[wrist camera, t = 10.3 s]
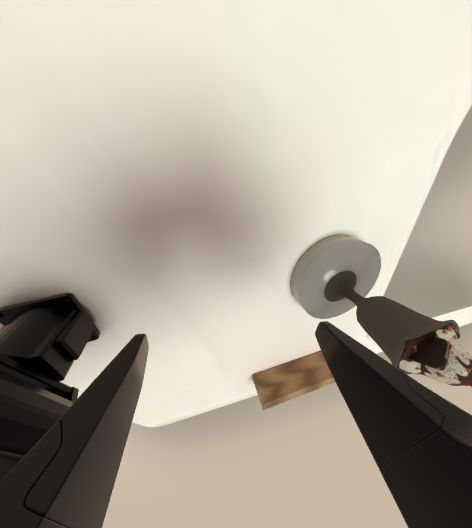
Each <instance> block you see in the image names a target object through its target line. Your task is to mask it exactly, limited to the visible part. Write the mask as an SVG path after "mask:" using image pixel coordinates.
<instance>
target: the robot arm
mask: <svg viewBox="0 0 472 528" xmlns="http://www.w3.org/2000/svg"><path fill="white" fill-rule="evenodd" d="M66 298H68V299H69V300H67V299H66ZM2 313H3V314H2ZM0 322H1V323H2V324H3V325H4V327H3V328H1V329H0V528H102V525H103V522H104V518H105V515H106V511H107V508H108V504H109V501H110V497H111V494H112V490H113V487H114V483H115V479H116V476H117V472H118V469H119V466H120V462H121V458H122V455H123V451H124V448H125V444H126V441H127V437H128V434H129V430H130V427H131V423H132V420H133V416H134V413H135V409H136V406H137V402H138V399H139V395H140V392H141V388H142V383H143V378H144V372H145V367H146V361H147V355H148V348H149V346H148V341H147V336H146V334H137V335H135V336H134V337H133V338H132V339H131V340H130V342H129V343H128V344H127V345H126V346H125V347H124V348H123V349H122V350H121V351H120V353H119V354H118V355H117V356H116V357H115V358H114V359H113V360H112V361H111V362H110V364H109V365H108V366H107V367H106V368H105V369H104V370H103V371H102V372H101V374H100V375H99V376H98V377H97V378H96V379H95V380H94V381H93V382H92V383H91V385H90V386H89V387H88V388H87V389H86V390H85V391H84V392H83V393H82V394H81V396H80V397H79V398H78V399H77V397H78V389H77V388H75V387H69V386H67V385H65V384H63V383H61V382H59V381H62V380H64V378H65V376H66V375H67V373H68V371H69V369H70V367H71V365H72V364H73V362H74V360H77V359H78V358H79V357H80V355H81V353H82V351H83V349H84V347H85V345H86V343H87V342H90V341H93V340H96V339H98V338H99V336H100V333H99V332H98V330H97V329H96V327H95V325H94V324H93V322H92V321H91V319H90V318H89V317H88V315H87V314H86V312H85V311H84V310H83V309H82V307H81V306H80V305H79V303H78V302H77V300H76V299H75V297H74V296H73V295H71V294H63V295H58V296H54V297H50V298H45V299H41V300H36V301H32V302H27V303H23V304H18V305H14V306H9V307H5V308H0ZM93 335H94V336H93ZM315 335H316V338H317V341H318V343H319V346H320V349H321V351H322V354H323V356H324V359H325V361H326V363H327V366H328V368H329V370H330V372H331V374H332V376H333V378H334V380H335V382H336V384H337V386H338V387H339V390H340V392H341V394H342V395H343V397H344V400H345V402H346V403H347V406H348V408H349V410H350V412H351V414H352V415H353V418H354V420H355V422H356V423H357V426H358V427H359V430H360V432H361V434H362V436H363V438H364V439H365V442H366V444H367V446H368V447H369V449H370V451H371V453H372V455H373V457H374V459H375V461H376V463H377V465H378V467H379V468H380V469H379V470H380V472H381V473H382V476H383V478H384V480H385V482H386V484H387V486H388V488H389V490H390V492H391V494H392V495H393V498H394V499H395V501H396V503H397V506H398V508H399V510H400V511H401V514H402V516H403V517H404V520H405V522H406V524H407V526H408V528H472V415H470V414H468V413H467V412H465V411H463V410H462V409H460V408H458V407H457V406H455V405H454V404H452V403H450V402H449V401H447V400H445V399H444V398H442V397H441V396H439V395H437V394H436V393H434V392H432V391H431V390H429V389H428V388H426V387H424V386H423V385H421V384H420V383H418V382H417V381H415V380H414V379H412V378H411V377H409V376H408V375H406V374H405V373H403V372H401V371H400V370H399V369H397V368H396V367H394V366H393V365H391V364H390V363H388V362H387V361H386V360H384V359H383V358H381V357H380V356H378V355H377V354H375V353H374V352H372V351H371V350H369V349H368V348H366V347H365V346H363V345H362V344H360V343H359V342H357V341H356V340H354V339H353V338H351V337H350V336H348V335H347V334H345V333H344V332H342V331H341V330H339V329H338V328H337V327H335V326H334V325H332V324H331V323H329V322H326V321H325V322H320V323H319V325H318V327H317V329H316V331H315Z"/></svg>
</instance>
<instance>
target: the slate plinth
mask: <svg viewBox="0 0 472 528" xmlns="http://www.w3.org/2000/svg"><path fill="white" fill-rule="evenodd" d="M380 268H381V258H380V254H379V252H378V250H377V249H376V248H375V247H374V246H372V245H371V244H368V243H366V242H363V241H361V240H358V239H356V238H354V237H351V236H348V235H343V234H340V235H332V236H329V237H326V238H324V239H322V240H320V241H318V242H317V243H315V244H314V245H312V246H311V247H310V248H309V249H308V250H307V251H306V252H305V253H304V254H303V255H302V257H301V258H300V259H299V261H298V262H297V264H296V266H295V268H294V270H293V273H292V276H291V282H290V287H291V292H292V295H293V296H294V298H295V299H296V300H297V301H298V303H299V304H300V305H301V306H302V307H303V308H304V309H305V311H306V312H307V313H308V314H309V315H311V316H313V317H315V318H320V319H327V318H332V317H336V316H339V315H341V314H343V313H345V312H347V311H349V310H350V309H352V308H353V307H354V306H356V304H354V303H353V302H352V301H351V300H349V299H347V298H344V299H342V300H340V301H337V302H331V301H328V300H327V299H326V298H325V294H324V293H325V288H326V286H327V284H328V282H329V281H330V280H331V279H332V278H333V277H334V276H335V275H337V274H339V273H341V272H344V271H352V272H354V273H355V274H356V277H357V282H356V286H355V288H354V291H355V292H357V293H358V294H359V295H361V296H362V297H363V298H365V296H366V295H367V294H368V293H369V292H370V290H371V289H372V287H373V286H374V284H375V282H376V280H377V278H378V275H379V272H380Z"/></svg>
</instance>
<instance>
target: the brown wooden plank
mask: <svg viewBox="0 0 472 528" xmlns="http://www.w3.org/2000/svg"><path fill="white" fill-rule="evenodd" d="M253 381H254V384H255V387H256V390H257V393H258V396H259V399H260V401H261V405H262V407H263V410H265V409H267V408H270V407H273V406H275V405H278V404H280V403H283V402H285V401H288V400H291V399H293V398H295V397H298V396H300V395H303V394H306V393H308V392H311V391H314V390H316V389H319V388H321V387H324V386H327V385H329V384H332V383H334V382H335V380H334V378H333V376H332V374H331V372H330V370H329V368H328V366H327V363H326V361H325V359H324V356H323V354H322V351H319V352H316V353H313V354H311V355H308V356H305V357H302V358H299V359H296V360H293V361H290V362H288V363H285V364H282V365H279V366H276V367H273V368H270V369H267V370H265V371H262V372H259V373H256V374H253Z"/></svg>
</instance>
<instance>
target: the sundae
mask: <svg viewBox="0 0 472 528" xmlns="http://www.w3.org/2000/svg"><path fill="white" fill-rule="evenodd" d="M356 282H357V277H356V274H355V273H354V272H352V271H344V272H341V273H339V274H337V275H335V276H334V277H333V278H332V279H331V280H330V281H329V282H328V284H327V286H326V288H325V293H324V294H325V298H326V299H327V300H328V301H331V302H337V301H340V300H342V299H344V298H347V299H349V300H351V301H352V302H353V303H354V304H356V305H357V311H356V314H357V320H358V322H359V324H360V325H361V326H362V327H363V329H364V330H365V331H366V332H367V333H368V335H369V336H370V337H371V338H372V339H373V340H374V341H375V342H376V343H377V344H378V346H379V347H380V348H381V349H382V350H383V351H384V353H385V354H386V355H387V356H388V358H389V359H390V360H391V362H392V365H393V366H394V367H396V368H397V369H399V370H400V371H401V372H403V373H405V374H412V373H414V374H422V375H425V376H428V377H431V378H433V379H435V380H437V381H439V382H441V383H446V384H449V385H453V386H461V385H465V386H471V387H472V355H471V354H470V353H469V352H468V351H467V350H466V349H465V348H464V347H463V346H462V345H461V344H460V343H459V342H458V339H459V337H460V334H459V327H458V324H457V323H456V322H455V321H454V320H448V321H436V320H434V319H432V318H429V317H427V316H424V315H422V314H419V313H417V312H415V311H413V310H411V309H409V308H407V307H405V306H403V305H401V304H399V303H397V302H395V301H393V300H390V299H388V298H386V297H383V296H375V297H369V298H363V297H362V296H361V295H359V294H358V293H357V292H355V291H354V288H355V286H356Z"/></svg>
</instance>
